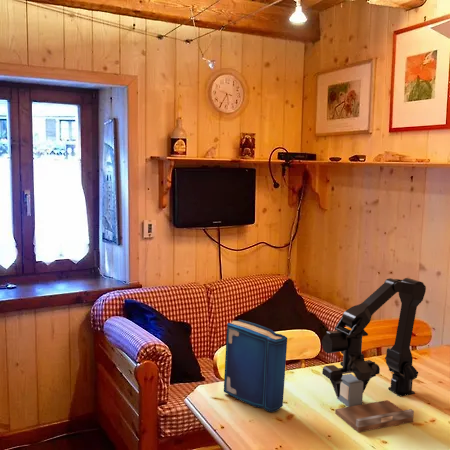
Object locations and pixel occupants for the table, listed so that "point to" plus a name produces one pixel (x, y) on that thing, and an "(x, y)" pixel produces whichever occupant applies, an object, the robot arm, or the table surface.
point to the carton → (351, 390)
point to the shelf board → (374, 415)
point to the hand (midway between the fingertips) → (349, 394)
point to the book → (255, 365)
